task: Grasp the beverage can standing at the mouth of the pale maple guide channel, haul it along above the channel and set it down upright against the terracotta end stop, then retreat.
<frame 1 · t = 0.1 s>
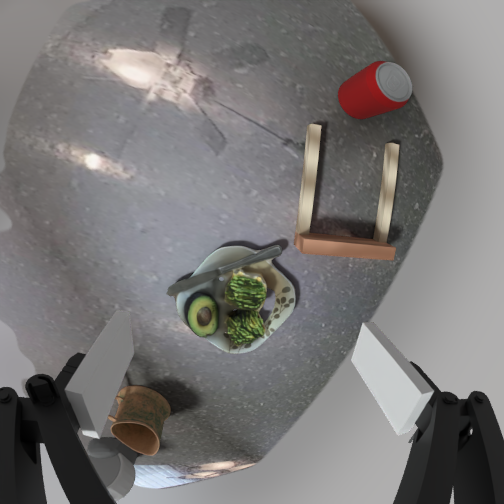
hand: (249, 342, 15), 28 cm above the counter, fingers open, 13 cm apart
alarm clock: (113, 448, 54), on the counter
mug: (132, 395, 49), on the counter
guide channel: (347, 191, 41), on the counter
avocado toast plate: (232, 300, 45), on the counter
beverage can: (354, 100, 38), on the counter
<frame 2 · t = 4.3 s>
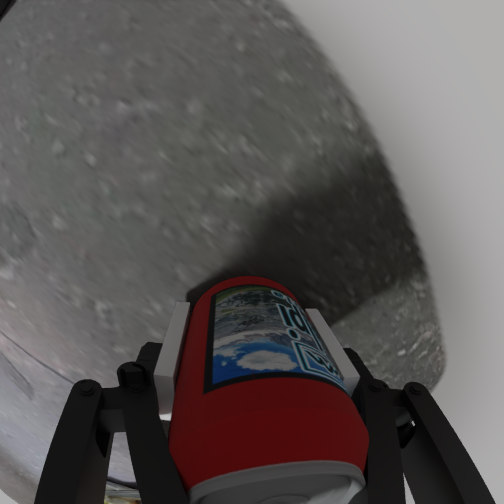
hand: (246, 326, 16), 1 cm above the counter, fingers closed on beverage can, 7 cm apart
avocado toast plate: (115, 498, 25), on the counter
beverage can: (245, 320, 17), on the counter, touching gripper
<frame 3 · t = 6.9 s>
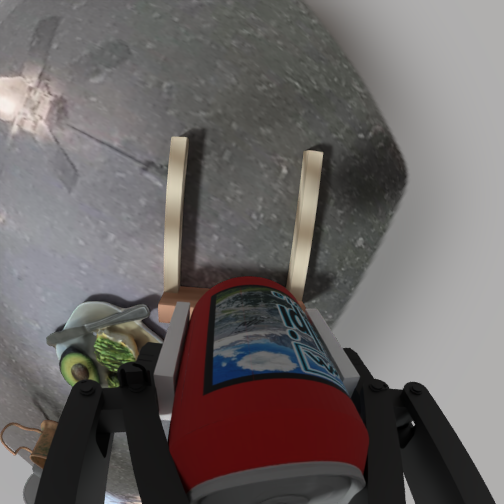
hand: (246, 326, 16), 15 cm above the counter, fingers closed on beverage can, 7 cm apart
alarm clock: (55, 469, 43), on the counter
mug: (53, 429, 38), on the counter
guide channel: (238, 228, 30), on the counter
avocado toast plate: (112, 356, 34), on the counter
beverage can: (245, 321, 17), point 14 cm above the counter, touching gripper
when the fingers open (3 cm above the counter, at t = 9.9 s): beverage can drops 2 cm, resting in guide channel.
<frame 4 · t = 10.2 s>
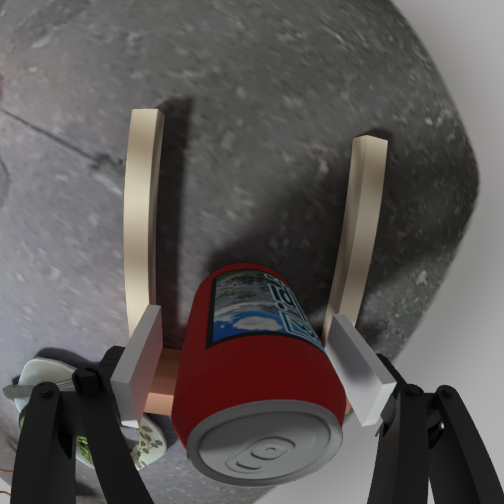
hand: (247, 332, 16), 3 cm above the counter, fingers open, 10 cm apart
guide channel: (248, 264, 18), on the counter
avocado toast plate: (81, 417, 22), on the counter
beverage can: (243, 304, 19), resting in guide channel
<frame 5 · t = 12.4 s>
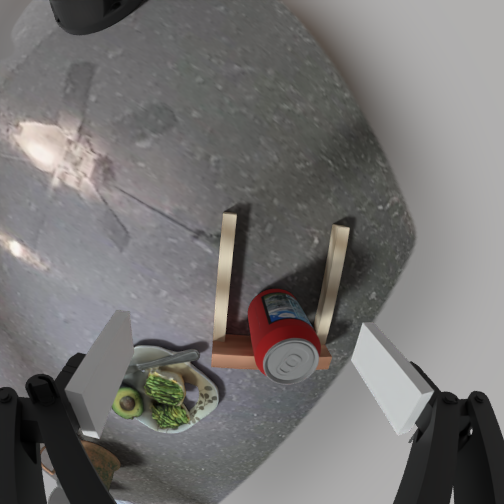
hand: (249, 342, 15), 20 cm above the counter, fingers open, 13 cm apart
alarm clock: (79, 482, 47), on the counter
mug: (86, 447, 42), on the counter
guide channel: (276, 289, 36), on the counter
avocado toast plate: (156, 388, 39), on the counter
beverage can: (272, 309, 37), resting in guide channel
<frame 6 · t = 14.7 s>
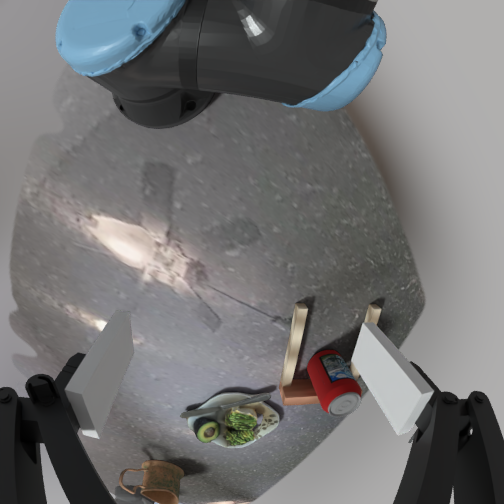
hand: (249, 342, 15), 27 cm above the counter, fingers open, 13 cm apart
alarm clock: (135, 491, 60), on the counter
mug: (154, 465, 55), on the counter
guide channel: (327, 349, 47), on the counter
avocado toast plate: (230, 418, 51), on the counter
beverage can: (323, 361, 48), resting in guide channel
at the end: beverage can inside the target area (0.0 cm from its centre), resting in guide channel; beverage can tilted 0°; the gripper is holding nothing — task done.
